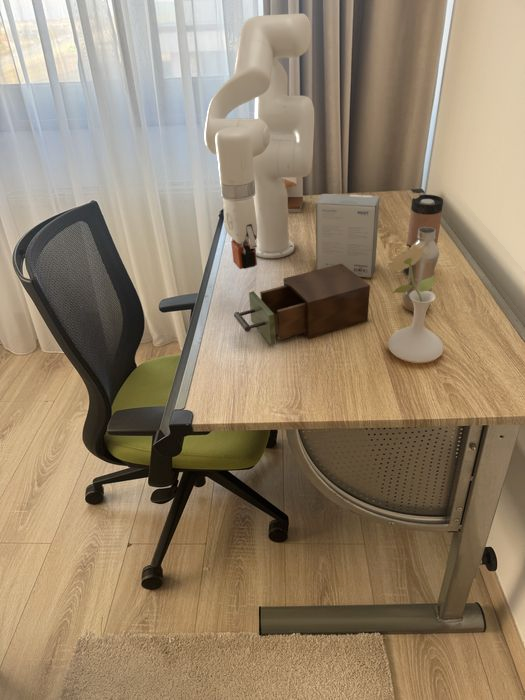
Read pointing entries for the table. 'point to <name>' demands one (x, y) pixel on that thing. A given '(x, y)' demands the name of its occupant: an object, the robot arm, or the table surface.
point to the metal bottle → (422, 263)
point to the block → (239, 253)
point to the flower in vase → (415, 314)
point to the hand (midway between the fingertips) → (245, 261)
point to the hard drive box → (347, 232)
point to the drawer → (276, 313)
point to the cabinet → (331, 298)
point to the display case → (292, 182)
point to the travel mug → (424, 217)
